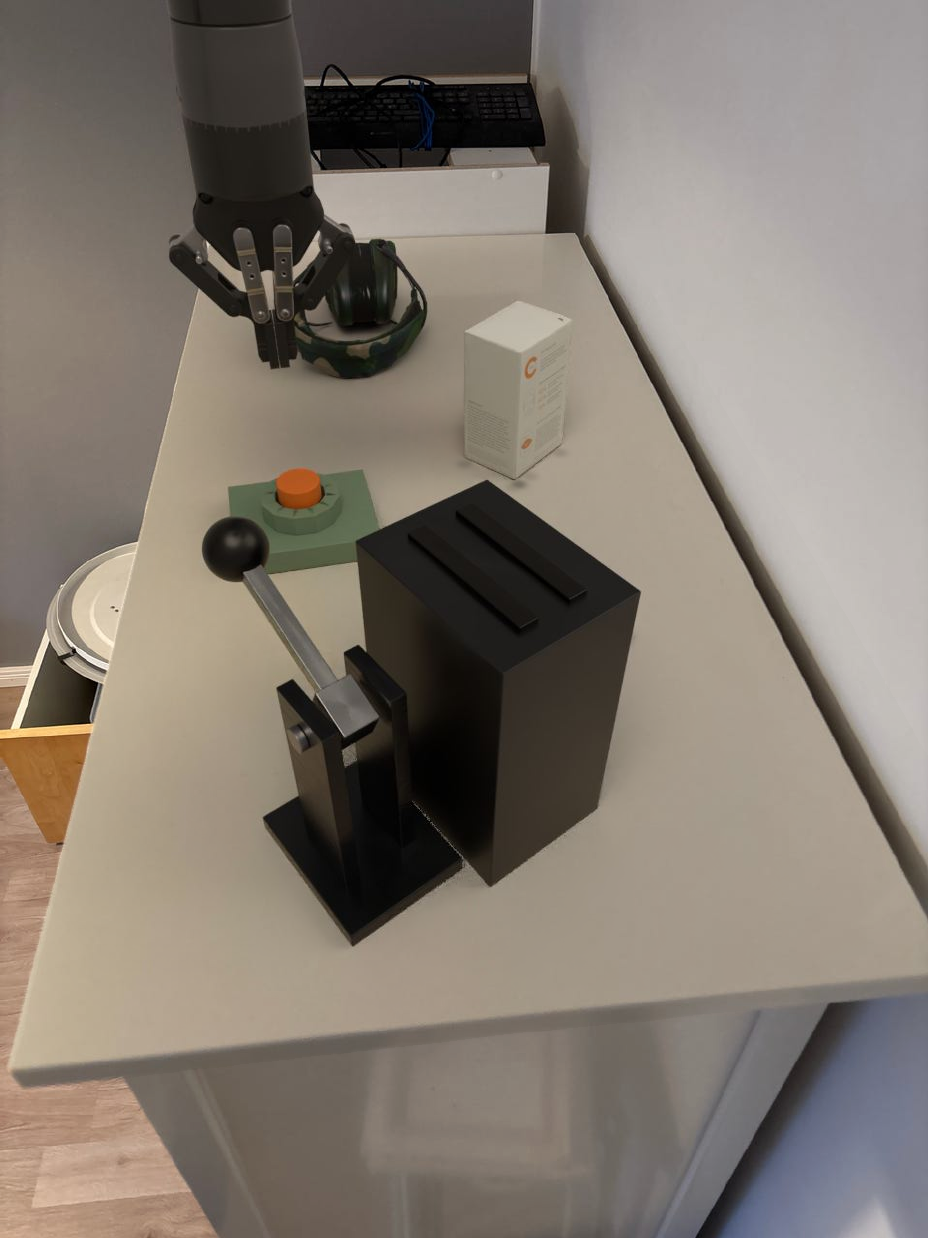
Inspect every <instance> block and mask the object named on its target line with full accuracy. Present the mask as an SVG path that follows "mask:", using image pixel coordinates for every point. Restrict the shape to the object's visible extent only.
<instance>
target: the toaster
mask: <svg viewBox="0 0 928 1238" xmlns="http://www.w3.org/2000/svg"><path fill="white" fill-rule="evenodd" d="M379 529H380V530H377V531H375V532H373V533H371V534H369V535H367V536H364V537H362V538H360V539H358V540H356V541H355V542H356V552H357V561H356V562H357V571H358V582H359V593H360V601H361V602H360V603H361V612H362V622H363V633H364V642H365V643H364V644H365V651H366V652H367V653H368V654H369V655H370V656H371V657H372V659H373V660H374V661H375V662H376V663H377V664H378V665H379V666H380V667H381V668H382V669H383V670H384V671H385V672H386V673H387V674H388V675H389V676H390V677H391V678H392V679H393V680H394V681H395V682H396V683H397V684H398V685H399V686H400V687H401V688H402V689H403V690H404V691H405V692H406V693H407V708H408V727H409V745H410V764H411V782H412V801H413V803H414V804H415V805H416V806H418V809H419V810H420V811H421V812H422V813H423V814H424V815H425V816H426V818H427V819H428V820H429V821H430V822H431V823H432V824H433V825H434V827H435V828H436V829H437V830H438V831H440V833H441V834H442V836H443V837H444V838H445V839H446V840H447V841H448V842H449V843H450V845H451V846H452V847H453V848H454V849H455V850H456V851H458V854H459V855H460V856H461V857H462V858H463V859H465V860H466V862H467V863H468V864H469V866H471V867H472V869H473V870H474V871H475V872H476V873H477V875H479V876H480V878H481V879H482V880H483V881H484V882H485V883H486V884H487V885H488V887H490V888H491V887H493V886H495V884H496V883H498V882H499V881H501V880H503V879H504V878H505V877H506V876H508V875H510V873H512V872H513V871H514V870H516V869H517V868H519V867H520V866H521V865H523V864H524V863H525V862H527V861H528V860H529V859H531V858H532V857H533V856H535V855H536V854H537V853H539V852H540V851H542V850H544V849H545V848H546V847H547V846H548V845H550V844H551V843H553V842H554V841H555V840H557V839H558V838H560V837H561V836H562V835H563V834H565V833H566V832H568V831H569V830H571V828H573V827H574V826H576V825H577V824H578V823H580V822H582V820H584V819H585V818H586V817H588V816H589V815H590V814H592V813H593V812H594V811H596V810H597V809H598V808H599V803H600V797H601V792H602V787H603V783H604V777H605V773H606V768H607V763H608V757H609V752H610V747H611V743H612V738H613V733H614V728H615V723H616V719H617V713H618V708H619V703H620V698H621V693H622V689H623V683H624V679H625V673H626V668H627V664H628V658H629V655H630V654H629V653H630V649H631V645H632V638H633V634H634V629H635V624H636V619H637V614H638V609H639V606H640V601H641V594H642V591H641V590H640V589H639V588H637V587H636V586H634V585H633V583H630V582H629V581H627V580H626V579H625V578H623V577H622V576H621V575H619V574H618V573H616V572H615V571H614V570H613V569H611V568H610V567H608V566H607V565H606V564H604V563H603V562H601V561H600V560H599V559H597V557H595V556H594V555H592V554H590V553H589V552H588V551H586V550H585V549H584V548H582V547H581V546H579V545H578V544H577V543H576V542H574V541H573V540H571V538H569V537H567V536H566V535H564V533H562V532H561V531H559V530H558V529H556V528H555V527H553V526H552V525H551V524H550V523H548V522H546V520H544V519H542V518H541V517H540V516H539V515H537V514H535V513H534V512H533V511H532V510H530V509H528V508H527V507H526V506H524V505H523V504H522V503H521V502H519V501H517V500H516V499H515V498H514V497H512V496H510V495H509V494H508V493H506V492H505V491H504V490H503V489H501V488H500V487H498V486H497V485H496V484H494V483H493V482H491V481H490V480H489V479H485V480H483V481H480V482H478V483H476V484H474V485H472V486H469V487H468V488H465V489H463V490H462V491H459V492H457V493H455V494H452V495H450V496H448V497H446V498H443V499H442V500H440V501H437V502H435V503H433V504H431V505H429V506H426V507H425V508H423V509H420V510H418V511H416V512H414V513H412V514H409V515H407V516H405V517H403V518H400V519H399V520H397V521H395V522H392V523H390V524H388V525H386V526H383V527H382V528H379Z"/></svg>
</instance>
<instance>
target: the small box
mask: <svg viewBox="0 0 928 1238" xmlns="http://www.w3.org/2000/svg"><path fill="white" fill-rule="evenodd" d="M573 327H574V319H573V318H570V317H568V316H565V315H562V314H561V313H557V312H554V311H551V310H549V309H545V308H542V307H540V306H536V305H534V304H531V303H528V302H524V301H521V300H515V301H513V302H512V303H510V304H508V305H507V306H506V307H504V308H502V309H500V310H499V311H497V312H495V313H493V314H492V315H489V316H488V317H486V318H485V319H483V320H481V321H480V322H478V323H476V324H475V325H473V326H471V327H470V328H467V329H465V330H464V331H463V342H464V343H463V456H464V457H465V458H466V459H468V460H470V461H473V462H474V463H477V464H479V465H481V466H483V467H485V468H488V469H489V470H492V471H494V472H497V473H499V474H501V475H502V476H505V477H507V478H509V479H513V480H516V479H518V478H519V477H520V476H521V475H523V474H524V473H525V472H527V471H528V470H529V469H531V468H532V467H534V465H536V464H537V463H538V462H540V461H541V460H542V459H544V458H545V457H546V456H548V455H549V454H550V453H551V452H553V451H554V450H555V449H557V448H558V447H559V446H561V445H562V444H563V433H564V422H565V412H566V411H565V409H566V399H567V391H568V380H569V371H570V369H569V368H570V361H571V360H570V359H571V348H572V338H573Z"/></svg>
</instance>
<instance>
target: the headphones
mask: <svg viewBox="0 0 928 1238" xmlns="http://www.w3.org/2000/svg"><path fill="white" fill-rule="evenodd" d="M313 261H314V259H313V260H312V261H311V262H309V264H308V265H306V268H305V269H304V270H303V271H302V272H301V273H300V274H299V275H298V276H296V278H294V279H293V285H294V287H295V286H297V285H298V284H299V282H300V281H301V279H302V278H303V276H304V275H305V273H306V272H307V270H308V268H309V267H310V265H311V264H312V262H313ZM398 269H399V270H400V272H402V274H403V275H404V277H405V278H406V280H407V281H408V283H409V285H410V288H411V291H410V303H409V304H408V305H407V306H406V307H405V312H404V313H403V314H402V317H401V318H400V320H399V321H395V320H393V319H392V316H393V313H394V311H395V308H396V303H397V302H396V301H397V298H398V285H399V284H398V281H399V280H398V279H399V277H398V276H399V275H398ZM418 293H419V296H420V298H421V300H422V305H421V300H419V297H418ZM324 299H325V302H326V304H327V306H328V310H329V312H330V314H331V315H332V317H333V318H334V319H335V320H336V322H337V323H338V324H339V325H341V326H352V325H353V324H354V323H369V322H370V323H371V322H375V323H376V325H386V324H388V323H389V324H392V325H393V326H392V327H391V328H389V329H388V330H386V331H384V332H382V333H380V334H379V335H377V336H374V337H371V338H368V339H355V340H337V339H333V338H329V337H326V336H323V335H320V334H318V333H316V332H314V331H313V329H312V328H311V327H315V328H318V327H320V328H321V327H326V326H329V325H332V324H333V323H334V322H333V321H330V322H323V323H314V322H311V321H308V320H307V316H306V310H303V311H301V312H299V313H298V314H297V315H296V316H295V318H294V326H295V334H296V342H297V351H298V353H299V354H300V355H301V359H302V360H304V361H305V362H307V363H309V364H310V365H313V366H314V367H316V368H317V369H319V370H321V371H322V372H325V373H326V374H328V375H330V376H333V377H336V378H342V379H343V378H344V379H352V378H356V377H359V376H360V377H361V376H362V377H366V378H367V377H370V376H372V375H375V374H376V373H378V372H380V371H383V370H385V369H388V368H390V367H393V365H394V364H395V363H396V362H397V361H398V360H400V359H401V358H402V357H403V356H405V355H406V354H407V353H408V352H409V350H410V349H411V348H412V346H413V345H414V343H415V342H416V340H417V338H418V337H419V335H420V334H421V332H422V330H423V329H424V327H425V324H426V321H427V316H428V301H427V298H426V294H425V292H424V290H423V288H422V287H421V286H420V284H419V283H418V282H417V280H416V279H415V278H414V277H413V275H412V274H411V272H409V270H408V269H407V267H406V265H405V263H404V262H403V261H402V259H401V258H400V257H399V256H398V255H397V247H396V244H395V242H394V241H392V240H386V239H384V238H371V239H370V240H369V242H356V249H355V251H354V252H353V254H352V255H351V257H350V258H349V260H348V261H347V263H346V264H345V266H344V267H343V269H342V270H341V272H340V273H339V275H338V276H337V278H336V279H335V281H334V282H333V284H332V285H331V287H330V288H329V290H328V291H327V293H326V294H325V296H324ZM422 306H423V307H422Z"/></svg>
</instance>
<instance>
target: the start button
mask: <svg viewBox="0 0 928 1238" xmlns="http://www.w3.org/2000/svg"><path fill="white" fill-rule="evenodd" d="M317 473H318V472H316V471H314V470H312V469H308V468H304V467H303V468H302V467H301V468H298V467H297V468H292V469H289V470H286V471H284V472H282V473H281V474H279V476H277V477H276V478H277V480H276V487H277V493H278V499H279V502H280V504H281V505H282V506H284V507H285V508H290V509H295V510H297V509H304V508H310V507H312V506H314V505H316V504H318V503H319V502H320V500H321V498H322V493H321V485H320V478H319V476H318V474H317Z"/></svg>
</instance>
